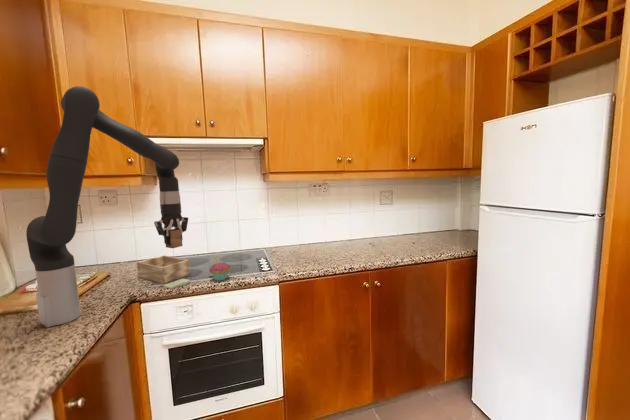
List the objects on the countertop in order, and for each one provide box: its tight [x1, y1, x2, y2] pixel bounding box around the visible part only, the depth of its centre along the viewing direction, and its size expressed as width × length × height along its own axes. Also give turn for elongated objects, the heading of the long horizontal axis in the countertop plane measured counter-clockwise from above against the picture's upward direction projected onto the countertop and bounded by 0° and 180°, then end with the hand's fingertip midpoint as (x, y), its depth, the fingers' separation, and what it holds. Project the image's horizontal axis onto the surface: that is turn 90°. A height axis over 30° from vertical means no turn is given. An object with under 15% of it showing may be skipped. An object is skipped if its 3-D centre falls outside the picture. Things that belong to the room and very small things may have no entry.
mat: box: [162, 278, 191, 289], centre depth 122 cm, size 9×5×1 cm, turn 149°
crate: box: [136, 255, 191, 285], centre depth 132 cm, size 13×19×7 cm
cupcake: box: [209, 252, 231, 282], centre depth 127 cm, size 9×8×12 cm
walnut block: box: [165, 228, 183, 249], centre depth 120 cm, size 4×4×7 cm
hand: (173, 243), depth 120 cm, fingers closed on walnut block, 4 cm apart
